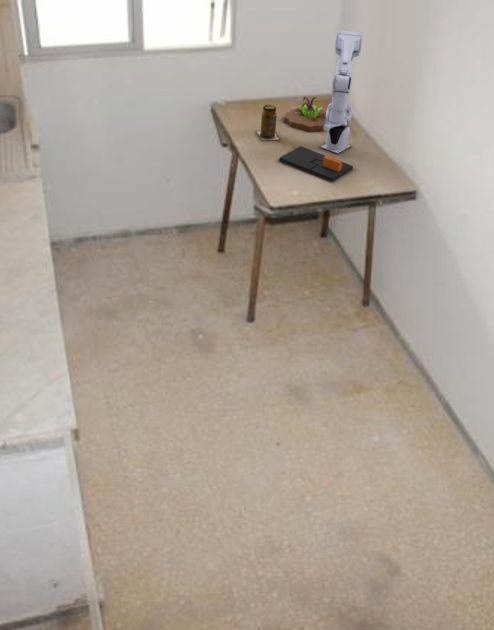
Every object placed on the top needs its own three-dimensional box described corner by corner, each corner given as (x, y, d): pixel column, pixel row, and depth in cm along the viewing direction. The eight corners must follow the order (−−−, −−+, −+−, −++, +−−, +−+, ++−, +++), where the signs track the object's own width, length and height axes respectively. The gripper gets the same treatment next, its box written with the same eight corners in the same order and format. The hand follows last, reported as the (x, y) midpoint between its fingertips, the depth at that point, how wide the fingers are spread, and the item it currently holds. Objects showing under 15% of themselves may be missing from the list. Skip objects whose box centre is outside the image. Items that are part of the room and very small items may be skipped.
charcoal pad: (324, 158, 280) (325, 146, 277) (352, 169, 274) (354, 157, 271) (303, 170, 271) (304, 158, 268) (332, 182, 265) (333, 169, 262)
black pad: (300, 149, 285) (300, 146, 284) (329, 160, 279) (330, 157, 278) (279, 161, 277) (279, 157, 276) (308, 172, 270) (309, 169, 269)
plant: (312, 135, 296) (315, 109, 289) (276, 120, 306) (278, 95, 300) (342, 122, 308) (345, 97, 301) (307, 108, 318) (309, 83, 311)
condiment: (273, 131, 298) (276, 103, 291) (279, 139, 291) (281, 111, 284) (256, 132, 296) (258, 103, 289) (261, 140, 290) (263, 112, 283)
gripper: (336, 117, 255) (332, 153, 263) (358, 106, 264) (353, 140, 272) (320, 111, 258) (316, 147, 266) (342, 100, 267) (337, 135, 275)
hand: (334, 143), depth 269 cm, fingers closed
